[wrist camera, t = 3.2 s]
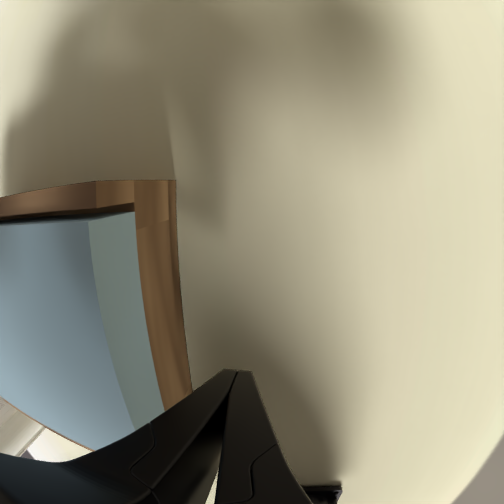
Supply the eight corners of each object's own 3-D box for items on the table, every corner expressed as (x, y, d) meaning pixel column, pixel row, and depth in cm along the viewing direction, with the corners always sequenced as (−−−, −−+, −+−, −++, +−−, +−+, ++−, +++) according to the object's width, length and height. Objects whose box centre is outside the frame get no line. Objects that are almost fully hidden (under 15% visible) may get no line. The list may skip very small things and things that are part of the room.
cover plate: (134, 211, 8) (88, 221, 6) (171, 435, 11) (153, 471, 8) (-24, 222, 10) (-54, 230, 8) (15, 374, 12) (-6, 391, 10)
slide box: (175, 180, 12) (95, 181, 6) (194, 403, 14) (161, 476, 9) (15, 198, 13) (-50, 210, 8) (48, 362, 16) (3, 400, 11)
